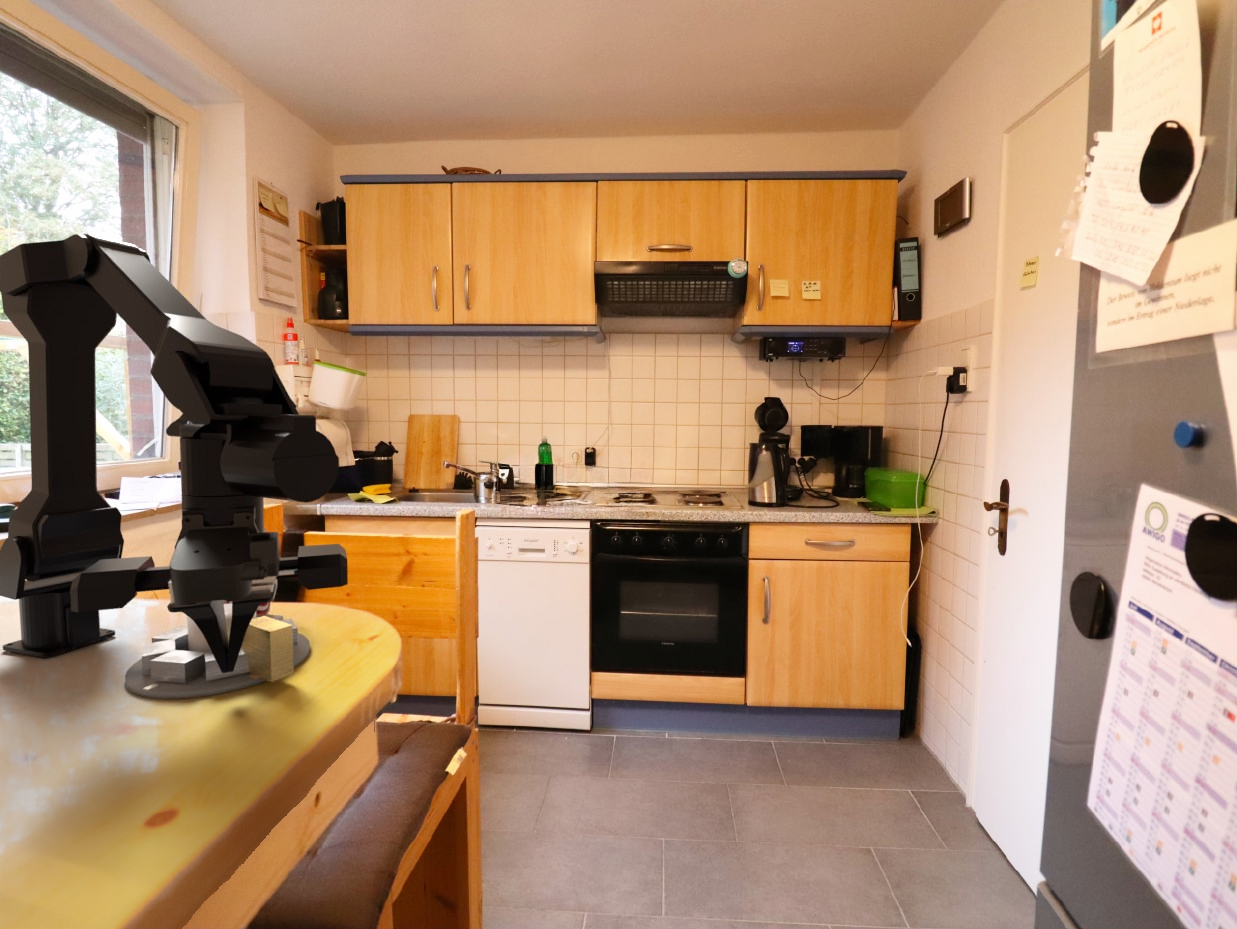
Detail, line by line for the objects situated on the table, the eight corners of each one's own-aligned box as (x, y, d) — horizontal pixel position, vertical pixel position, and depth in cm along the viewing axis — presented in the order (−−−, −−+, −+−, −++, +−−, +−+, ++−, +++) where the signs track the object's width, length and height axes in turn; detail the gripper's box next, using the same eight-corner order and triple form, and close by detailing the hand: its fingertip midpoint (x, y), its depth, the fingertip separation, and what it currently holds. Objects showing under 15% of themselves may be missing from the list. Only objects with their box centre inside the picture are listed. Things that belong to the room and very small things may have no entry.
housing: (82, 685, 52) (79, 630, 52) (232, 627, 67) (230, 584, 66) (213, 710, 48) (211, 650, 48) (342, 643, 63) (341, 597, 62)
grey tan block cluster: (115, 661, 55) (113, 614, 55) (254, 622, 66) (253, 582, 66) (204, 707, 47) (202, 652, 47) (346, 653, 58) (345, 608, 58)
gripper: (32, 513, 38) (45, 743, 39) (349, 501, 46) (351, 690, 47) (92, 491, 47) (100, 675, 49) (344, 485, 56) (345, 641, 57)
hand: (228, 670), depth 50 cm, fingers closed
